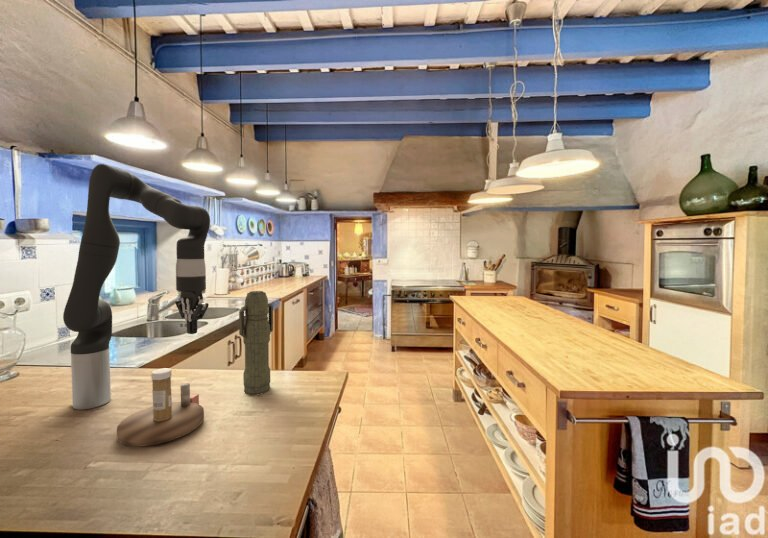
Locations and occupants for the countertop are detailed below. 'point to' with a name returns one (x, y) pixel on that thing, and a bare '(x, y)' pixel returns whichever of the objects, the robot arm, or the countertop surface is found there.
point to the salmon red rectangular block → (195, 399)
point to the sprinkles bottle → (162, 394)
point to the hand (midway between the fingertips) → (192, 333)
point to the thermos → (256, 341)
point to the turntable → (161, 423)
